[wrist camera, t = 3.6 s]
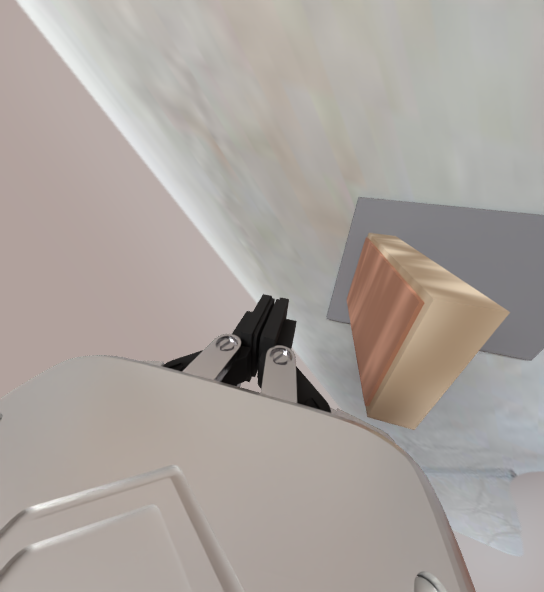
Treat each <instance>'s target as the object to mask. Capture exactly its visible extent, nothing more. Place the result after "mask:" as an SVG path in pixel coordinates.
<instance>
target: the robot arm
mask: <svg viewBox="0 0 544 592" xmlns="http://www.w3.org/2000/svg"><path fill="white" fill-rule="evenodd" d="M288 302H289V299H285V298H280V300H279V299H277V300H276V302H275V304H274V299H273V298H272V296H269V295H264V294H263V295H262V297H261V299H260V301H259V302H258V304H257V306H256V307H255V309H254V311H253V312H250V311H247V312H246V313H245V315H244V316H243V318H242V319H241V321H240V322H239V324H238V325H237V327H236V329H235V330H234V332H233V333H232V334H223V335H220V336H218V337H217V338H215V339H214V340H213V341H212V342H211V343H210V344H209V345H208V346H207V347H206V348H205V349H204V350H203V351H200V352H196V353H194V354H190V355H187V356H184V357H181V358H178V359H175V360H172V361H170V362H167V363H166V364H164V363H163V362H158V361H138V360H134V359H128V358H123V357H117V356H106V355H104V356H103V355H96V356H83V357H77V358H72V359H69V360H66V361H63V362H61V363H59V364H57V365H55V366H53V367H51V368H49V369H48V370H46V371H44V372H42V373H40V374H39V375H37V376H35V377H34V378H32V379H30V380H29V381H27V382H25V383H24V384H22V385H21V386H19V387H17V388H16V389H14V390H13V391H11V392H9V393H8V394H6V395H5V396H3V397H2V398H0V592H476V591H475V588H474V585H473V583H472V580H471V577H470V575H469V572H468V569H467V567H466V564H465V561H464V559H463V556H462V553H461V551H460V548H459V546H458V543H457V541H456V539H455V536H454V533H453V531H452V529H451V526H450V524H449V521H448V519H447V516H446V514H445V512H444V510H443V507H442V505H441V503H440V501H439V499H438V497H437V495H436V493H435V491H434V489H433V487H432V485H431V483H430V481H429V480H428V478H427V476H426V475H425V473H424V472H423V471H422V469H421V468H420V466H419V465H418V464H417V463H416V462H415V461H414V460H413V458H412V457H411V456H410V455H409V454H407V453H406V452H405V451H404V450H403V449H401V448H400V447H399V446H398V445H396V444H395V442H394V440H393V439H392V438H391V437H390V436H389V435H388V434H387V433H385V432H384V431H382V430H380V429H378V428H376V427H374V426H372V425H370V424H368V423H366V422H364V421H362V420H360V419H358V418H356V417H354V416H352V415H350V414H348V413H346V412H344V411H342V410H340V409H337V411H336V410H334V409H332V408H330V407H329V405H328V403H327V402H326V400H325V399H324V398H323V397H322V396H321V394H320V393H319V392H318V391H317V390H316V389H315V388H314V386H313V385H312V384H311V383H310V382H309V381H308V379H307V378H306V377H305V376H304V375H303V374H302V372H301V371H300V370H299V369H298V368H297V367H296V357H295V354H294V352H293V351H292V350H291V348H292V343H293V338H294V333H295V327H296V321H293V320H289V319H286V316H287V309H288ZM257 370H258V376H257V377H258V385H259V387H260V388H261V393H259V392H255V391H251V390H248V389H244V388H240V385H241V383H242V382H244V381H248V382H250V380H251V377H252V376H253V377H255V376H256V373H257ZM416 576H418V577H416Z"/></svg>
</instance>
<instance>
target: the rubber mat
mask: <svg viewBox="0 0 544 592" xmlns="http://www.w3.org/2000/svg"><path fill="white" fill-rule="evenodd" d="M368 233H375V234H383V235H391V236H396V237H398V238H399V239H401V240H402V241H404V242H405V243H407V244H408V245H410V246H411V247H413V248H414V249H416V250H417V251H419V252H420V253H422V254H423V255H425V256H426V257H428V258H429V259H431V260H432V261H434V262H435V263H437V264H438V265H440V266H441V267H443V268H444V269H446V270H447V271H449V272H450V273H452V274H453V275H455V276H456V277H458V278H459V279H461V280H462V281H464V282H465V283H467V284H468V285H470V286H471V287H473V288H474V289H476V290H477V291H479V292H481V293H482V294H484V295H485V296H487V297H488V298H490V299H491V300H493V301H494V302H496V303H497V304H499V305H500V306H502V307H503V308H505V309H506V310H508V311H509V312H510V313H509V314H508V316H507V317H506V318H505V319H504V320H503V322H502V323H501V324H500V325H499V327H498V328H497V329H496V330H495V332H494V333H493V334H492V335H491V336H490V338H489V339H488V340H487V341H486V343H485V344H484V345H483V346H482V347H481V349H480V350H482V351H486V352H491V353H496V354H501V355H506V356H511V357H516V358H521V359H525V360H530V361H531V360H532V359H533V358H534V357H535V356H537V355H538V354H539V353H540V352H541V351H542V350H543V349H544V215H537V214H526V213H516V212H506V211H496V210H485V209H475V208H465V207H455V206H444V205H434V204H424V203H414V202H403V201H393V200H383V199H372V198H362V197H358V201H357V205H356V209H355V212H354V216H353V220H352V224H351V227H350V231H349V235H348V239H347V242H346V246H345V250H344V254H343V257H342V261H341V265H340V269H339V272H338V276H337V280H336V284H335V287H334V291H333V295H332V299H331V302H330V306H329V310H328V314H327V319H330V320H335V321H340V322H345V323H350V317H349V311H348V306H347V296H348V293H349V290H350V287H351V284H352V280H353V277H354V274H355V271H356V268H357V264H358V261H359V258H360V255H361V252H362V248H363V245H364V242H365V239H366V237H367V236H368ZM350 324H351V323H350Z"/></svg>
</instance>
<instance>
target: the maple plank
mask: <svg viewBox="0 0 544 592" xmlns="http://www.w3.org/2000/svg"><path fill="white" fill-rule="evenodd" d="M347 306H348V311H349V317H350V323H351V329H352V334H353V340H354V346H355V351H356V357H357V363H358V369H359V374H360V380H361V386H362V391H363V397H364V403H365V406H366V411H367V417H370V418H373V419H377V420H380V421H384V422H387V423H391V424H395V425H398V426H402V427H405V428H409V429H412V430H415V428H416V427H417V426H418V425H419V423H420V422H421V421H422V420H423V419H424V417H425V416H426V415H427V414H428V412H429V411H430V410H431V409H432V408H433V406H434V405H435V404H436V403H437V401H438V400H439V399H440V398H441V397H442V395H443V394H444V393H445V392H446V390H447V389H448V388H449V387H450V385H451V384H452V383H453V382H454V381H455V379H456V378H457V377H458V376H459V374H460V373H461V372H462V371H463V370H464V368H465V367H466V366H467V365H468V363H469V362H470V361H471V360H472V358H473V357H474V356H475V355H476V354H477V352H478V351H479V350H480V349H481V347H482V346H483V345H484V344H485V343H486V341H487V340H488V339H489V338H490V336H491V335H492V334H493V333H494V332H495V330H496V329H497V328H498V327H499V325H500V324H501V323H502V322H503V320H504V319H505V318H506V317H507V316H508V314H509V313H510V312H509V311H508V310H506V309H505V308H503V307H502V306H500V305H499V304H497V303H496V302H494V301H493V300H491V299H490V298H488V297H487V296H485V295H484V294H482V293H481V292H479V291H477V290H476V289H474V288H473V287H471V286H470V285H468V284H467V283H465V282H464V281H462V280H461V279H459V278H458V277H456V276H455V275H453V274H452V273H450V272H449V271H447V270H446V269H444V268H443V267H441V266H440V265H438V264H437V263H435V262H434V261H432V260H431V259H429V258H428V257H426V256H425V255H423V254H422V253H420V252H419V251H417V250H416V249H414V248H413V247H411V246H410V245H408V244H407V243H405V242H404V241H402V240H401V239H399V238H398V237H396V236H391V235H383V234H375V233H368V236H367V237H366V239H365V242H364V245H363V248H362V252H361V255H360V258H359V261H358V264H357V268H356V271H355V274H354V277H353V280H352V284H351V287H350V290H349V293H348V296H347Z"/></svg>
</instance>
